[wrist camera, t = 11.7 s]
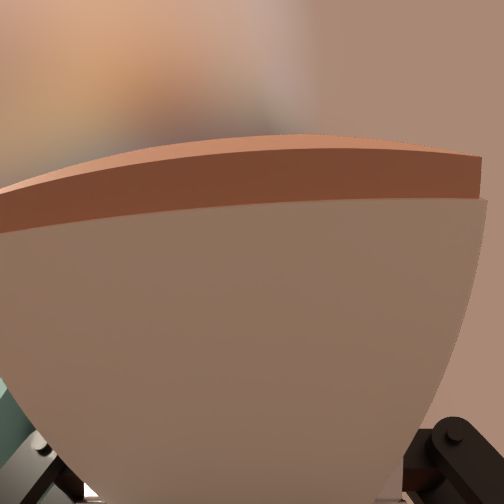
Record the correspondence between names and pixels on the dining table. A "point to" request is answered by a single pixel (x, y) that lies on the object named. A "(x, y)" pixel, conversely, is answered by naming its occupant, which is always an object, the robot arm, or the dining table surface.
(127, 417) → the cream tall box
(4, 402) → the teal book
